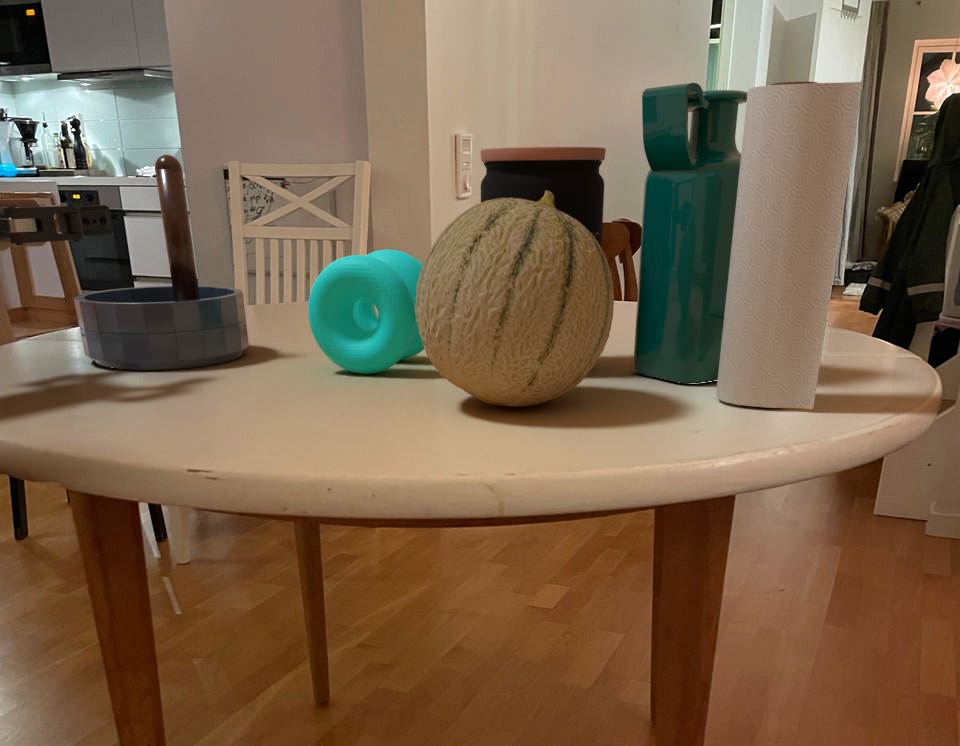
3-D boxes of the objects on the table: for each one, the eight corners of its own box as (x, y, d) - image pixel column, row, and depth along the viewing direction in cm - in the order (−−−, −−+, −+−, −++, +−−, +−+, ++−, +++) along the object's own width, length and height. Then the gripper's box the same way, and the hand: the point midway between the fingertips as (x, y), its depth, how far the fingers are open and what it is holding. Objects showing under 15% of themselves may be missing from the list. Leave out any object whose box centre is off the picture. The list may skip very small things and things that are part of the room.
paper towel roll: (706, 393, 75) (736, 87, 65) (779, 392, 75) (820, 87, 65) (733, 413, 68) (771, 77, 59) (813, 412, 68) (864, 77, 59)
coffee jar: (512, 381, 79) (513, 146, 71) (463, 362, 88) (460, 150, 80) (617, 371, 83) (630, 146, 75) (561, 353, 92) (567, 150, 84)
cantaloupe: (379, 407, 71) (367, 192, 64) (500, 378, 81) (501, 189, 74) (529, 437, 62) (534, 192, 56) (645, 401, 72) (660, 189, 65)
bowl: (58, 371, 86) (44, 303, 83) (125, 344, 100) (115, 285, 97) (222, 372, 85) (213, 303, 82) (267, 344, 99) (260, 285, 96)
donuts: (307, 374, 84) (297, 255, 79) (352, 355, 92) (344, 248, 88) (410, 379, 81) (405, 257, 77) (446, 359, 90) (443, 248, 85)
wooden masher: (153, 354, 89) (121, 154, 81) (175, 344, 94) (146, 155, 87) (214, 354, 89) (187, 153, 81) (232, 344, 94) (209, 155, 86)
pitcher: (691, 362, 87) (716, 93, 77) (760, 376, 81) (796, 85, 71) (611, 373, 82) (627, 89, 73) (677, 389, 76) (704, 80, 66)
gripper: (-78, 168, 62) (123, 169, 74) (-181, 170, 69) (18, 170, 81) (-48, 287, 65) (139, 269, 77) (-149, 277, 72) (37, 262, 84)
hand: (77, 218), depth 79 cm, fingers open, 8 cm apart
